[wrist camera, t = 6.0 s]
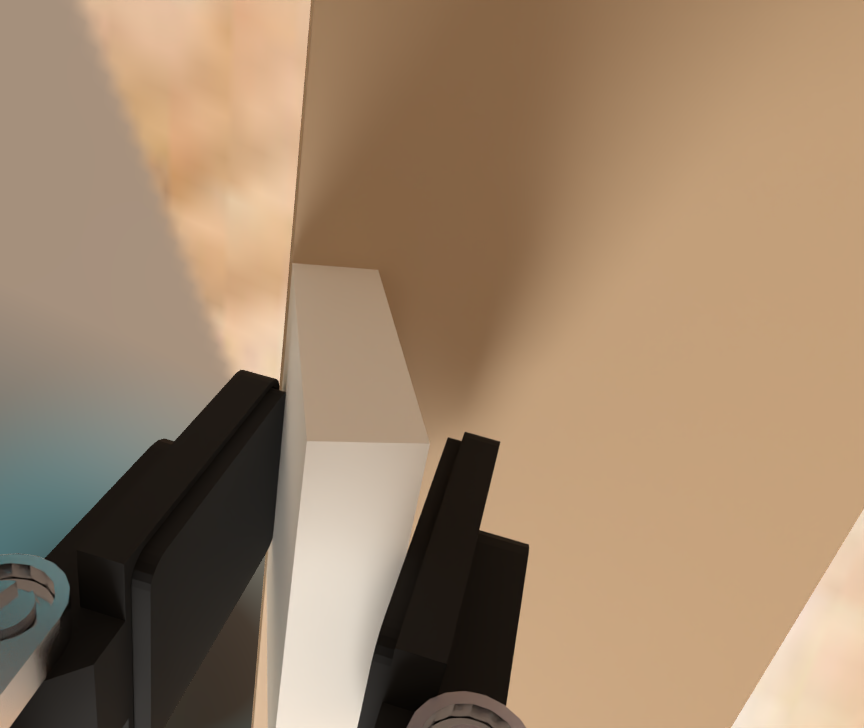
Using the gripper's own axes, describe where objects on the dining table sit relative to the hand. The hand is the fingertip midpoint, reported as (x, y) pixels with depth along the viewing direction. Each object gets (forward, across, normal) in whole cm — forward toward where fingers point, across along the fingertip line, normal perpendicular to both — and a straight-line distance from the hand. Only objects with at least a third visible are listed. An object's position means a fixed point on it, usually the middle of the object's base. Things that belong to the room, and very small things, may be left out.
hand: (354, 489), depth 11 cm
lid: (+4, -4, 0) cm, 5 cm away
